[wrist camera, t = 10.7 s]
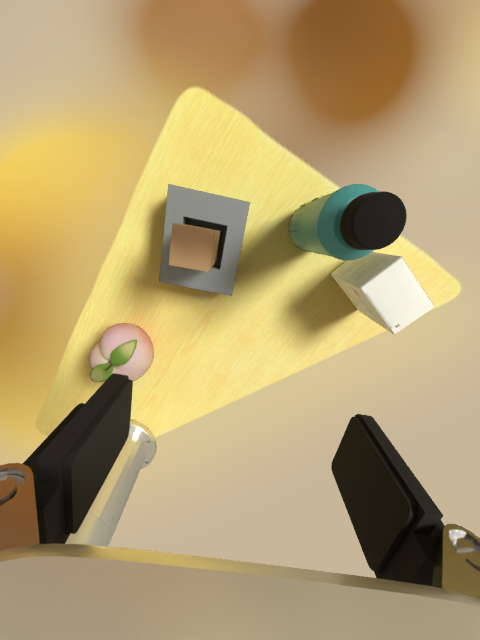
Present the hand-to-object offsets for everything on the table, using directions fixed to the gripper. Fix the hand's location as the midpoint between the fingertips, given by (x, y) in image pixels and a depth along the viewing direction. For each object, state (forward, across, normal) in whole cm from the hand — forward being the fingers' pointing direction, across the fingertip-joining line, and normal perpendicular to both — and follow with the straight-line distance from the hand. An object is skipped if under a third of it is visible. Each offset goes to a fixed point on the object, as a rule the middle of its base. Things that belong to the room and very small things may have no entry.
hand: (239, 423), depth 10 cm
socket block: (+30, +6, -5) cm, 31 cm away
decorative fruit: (+31, +15, +13) cm, 36 cm away
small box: (+31, -18, -4) cm, 36 cm away
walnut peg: (+29, +6, -5) cm, 30 cm away
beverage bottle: (+30, -8, -10) cm, 33 cm away
